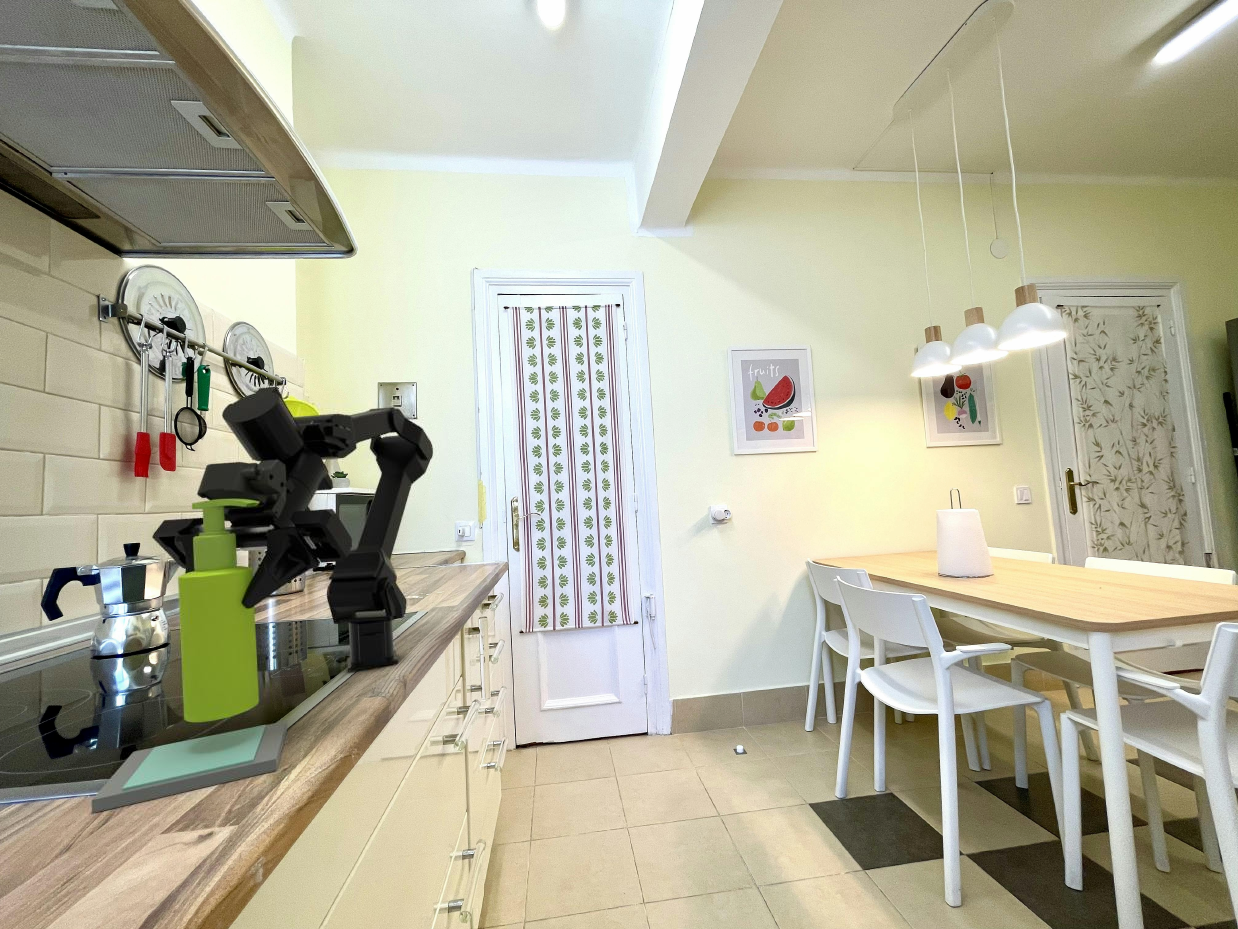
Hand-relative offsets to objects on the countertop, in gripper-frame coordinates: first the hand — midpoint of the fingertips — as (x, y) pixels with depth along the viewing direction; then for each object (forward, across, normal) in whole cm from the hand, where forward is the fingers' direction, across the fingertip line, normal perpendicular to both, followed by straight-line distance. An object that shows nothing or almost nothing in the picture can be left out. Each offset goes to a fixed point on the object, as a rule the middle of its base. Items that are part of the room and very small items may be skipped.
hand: (214, 607), depth 55 cm
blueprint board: (+11, 0, +8) cm, 14 cm away
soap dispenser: (+7, +1, +7) cm, 10 cm away
